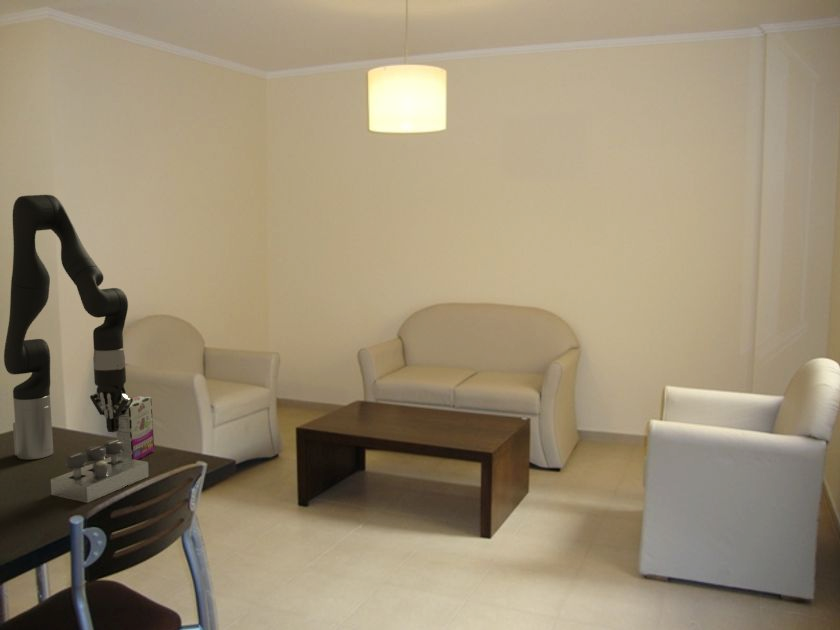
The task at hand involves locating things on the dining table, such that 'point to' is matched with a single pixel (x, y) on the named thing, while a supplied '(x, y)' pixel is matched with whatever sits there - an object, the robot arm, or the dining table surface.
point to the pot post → (101, 469)
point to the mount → (99, 480)
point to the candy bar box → (137, 429)
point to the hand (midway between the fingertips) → (113, 431)
